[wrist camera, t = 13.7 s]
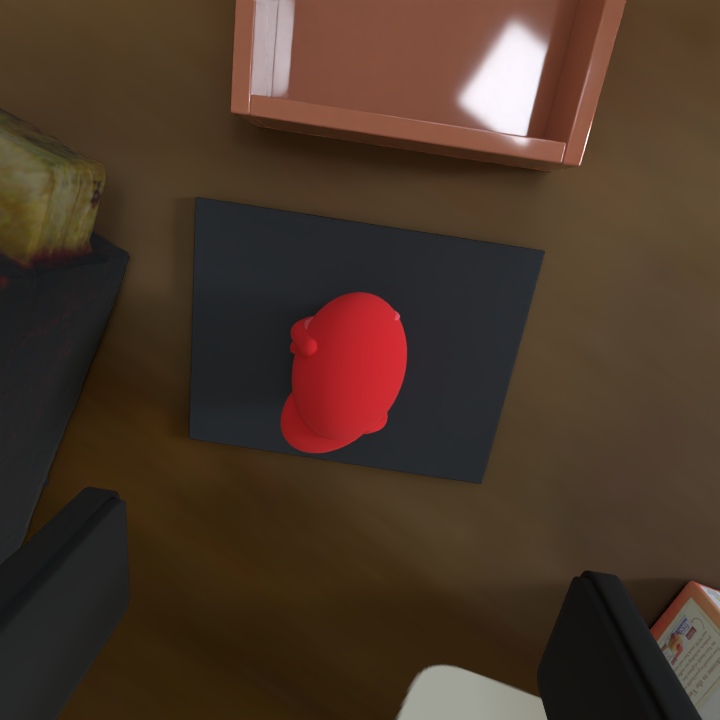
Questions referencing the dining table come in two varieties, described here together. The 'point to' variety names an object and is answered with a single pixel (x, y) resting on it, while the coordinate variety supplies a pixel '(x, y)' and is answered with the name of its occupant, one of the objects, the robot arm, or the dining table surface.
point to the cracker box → (694, 645)
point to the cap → (343, 372)
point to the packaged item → (45, 306)
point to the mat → (331, 280)
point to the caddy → (429, 74)
